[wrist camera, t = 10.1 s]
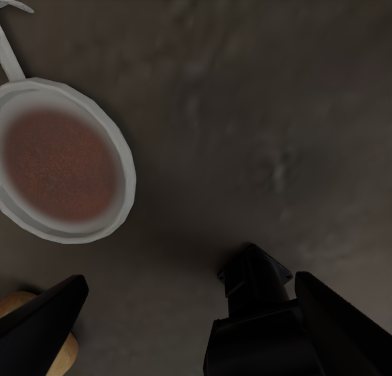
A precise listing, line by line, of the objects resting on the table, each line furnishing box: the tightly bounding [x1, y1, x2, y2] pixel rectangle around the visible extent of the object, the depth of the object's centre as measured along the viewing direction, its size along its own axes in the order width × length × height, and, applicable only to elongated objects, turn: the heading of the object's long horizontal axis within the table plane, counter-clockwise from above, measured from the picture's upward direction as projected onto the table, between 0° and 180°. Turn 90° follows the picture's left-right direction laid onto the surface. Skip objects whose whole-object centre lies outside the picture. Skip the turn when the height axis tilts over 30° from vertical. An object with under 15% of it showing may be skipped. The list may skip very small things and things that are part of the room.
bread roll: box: [0, 291, 78, 376], centre depth 27 cm, size 10×15×8 cm, turn 20°
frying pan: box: [0, 0, 136, 244], centre depth 18 cm, size 17×3×28 cm
